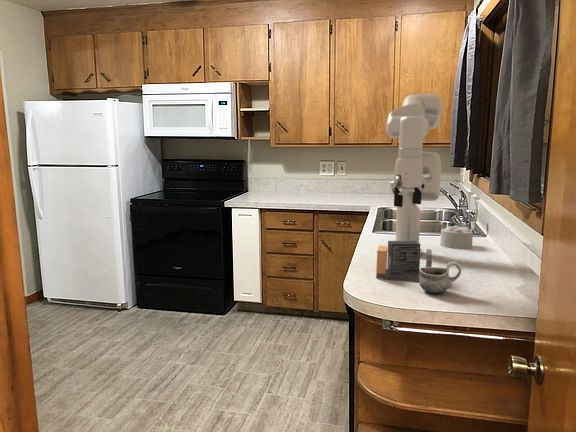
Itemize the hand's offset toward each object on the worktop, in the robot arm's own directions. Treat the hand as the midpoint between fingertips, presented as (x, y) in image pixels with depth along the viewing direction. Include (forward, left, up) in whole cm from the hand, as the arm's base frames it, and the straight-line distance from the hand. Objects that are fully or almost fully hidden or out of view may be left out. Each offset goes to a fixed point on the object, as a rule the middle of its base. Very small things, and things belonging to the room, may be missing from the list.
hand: (407, 205), depth 162 cm
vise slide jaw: (0, -8, -23) cm, 25 cm away
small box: (-9, -1, -26) cm, 27 cm away
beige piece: (-54, +21, -26) cm, 64 cm away
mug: (+13, +11, -26) cm, 31 cm away
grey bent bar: (0, 0, -25) cm, 25 cm away
